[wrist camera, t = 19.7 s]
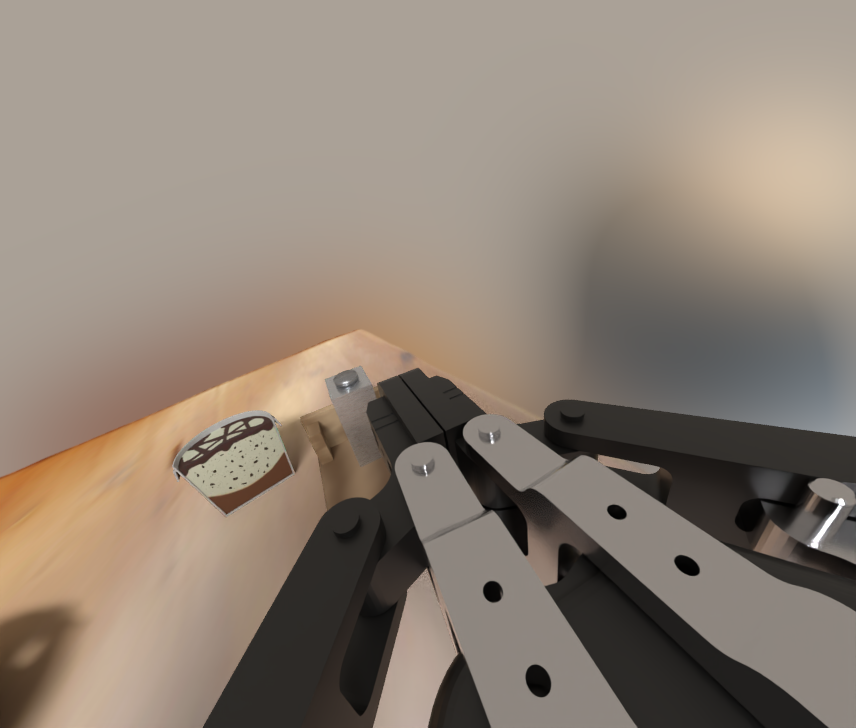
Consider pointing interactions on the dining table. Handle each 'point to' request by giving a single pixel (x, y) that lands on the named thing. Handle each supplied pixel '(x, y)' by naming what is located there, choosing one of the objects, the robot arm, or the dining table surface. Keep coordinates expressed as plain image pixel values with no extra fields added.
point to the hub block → (355, 411)
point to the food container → (235, 460)
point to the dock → (341, 459)
